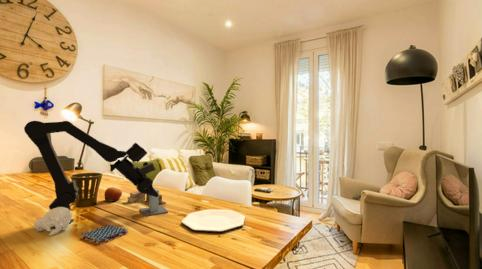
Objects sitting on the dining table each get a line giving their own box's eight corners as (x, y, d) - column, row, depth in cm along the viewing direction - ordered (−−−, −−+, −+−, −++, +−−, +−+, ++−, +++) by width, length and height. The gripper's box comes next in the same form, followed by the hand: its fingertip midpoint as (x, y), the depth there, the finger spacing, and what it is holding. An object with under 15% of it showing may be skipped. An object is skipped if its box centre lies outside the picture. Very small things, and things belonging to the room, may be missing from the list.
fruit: (96, 200, 116) (104, 184, 120) (108, 204, 122) (114, 189, 126) (109, 201, 114) (116, 185, 118) (120, 206, 120) (126, 191, 124)
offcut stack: (131, 203, 116) (131, 194, 116) (127, 201, 119) (127, 193, 119) (145, 200, 121) (145, 192, 121) (140, 199, 124) (141, 190, 124)
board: (151, 212, 101) (151, 191, 101) (149, 209, 105) (149, 188, 105) (158, 211, 102) (158, 190, 102) (156, 208, 106) (156, 188, 107)
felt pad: (143, 216, 97) (143, 215, 97) (140, 210, 105) (140, 208, 105) (167, 212, 102) (168, 211, 102) (163, 207, 110) (163, 205, 110)
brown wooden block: (158, 205, 113) (159, 196, 113) (146, 200, 121) (146, 192, 121) (165, 203, 116) (165, 194, 116) (153, 199, 124) (153, 191, 124)
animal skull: (56, 209, 76) (26, 211, 78) (57, 236, 76) (27, 236, 78) (73, 204, 82) (45, 205, 84) (74, 229, 82) (46, 229, 84)
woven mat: (100, 247, 70) (100, 240, 70) (79, 240, 75) (79, 233, 75) (130, 234, 80) (130, 228, 80) (110, 229, 84) (110, 223, 84)
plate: (246, 214, 103) (246, 210, 103) (241, 236, 79) (241, 231, 79) (193, 211, 105) (193, 208, 105) (173, 232, 81) (173, 228, 81)
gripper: (147, 158, 94) (174, 183, 99) (140, 155, 110) (164, 177, 115) (124, 179, 89) (154, 204, 95) (121, 173, 106) (147, 195, 111)
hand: (155, 193), depth 104 cm, fingers open, 9 cm apart
